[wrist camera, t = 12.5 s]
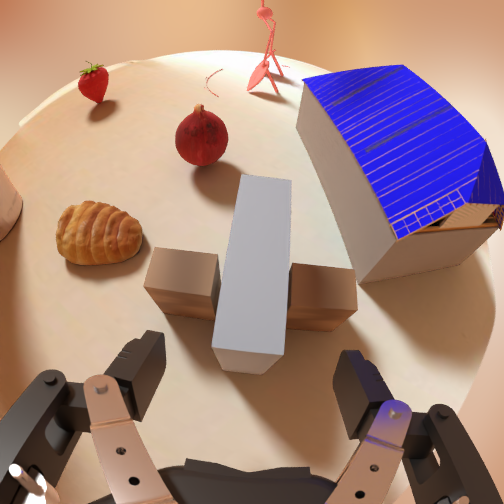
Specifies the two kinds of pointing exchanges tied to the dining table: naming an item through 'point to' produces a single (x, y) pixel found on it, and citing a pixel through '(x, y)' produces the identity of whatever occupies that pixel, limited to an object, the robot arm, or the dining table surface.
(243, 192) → the grey notched square slab
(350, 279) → the walnut blocks
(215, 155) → the onion
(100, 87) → the strawberry
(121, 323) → the dining table surface
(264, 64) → the figurine
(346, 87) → the house
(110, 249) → the pastry
